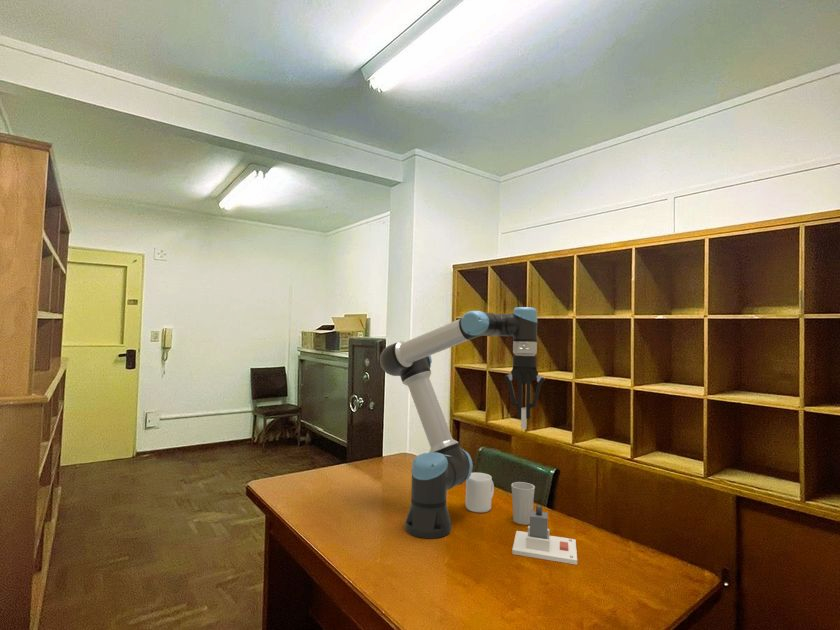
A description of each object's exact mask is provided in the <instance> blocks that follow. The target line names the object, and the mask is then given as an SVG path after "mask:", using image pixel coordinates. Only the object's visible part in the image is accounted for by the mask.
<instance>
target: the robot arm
mask: <svg viewBox="0 0 840 630" xmlns="http://www.w3.org/2000/svg"><path fill="white" fill-rule="evenodd" d="M482 336H487V337H513V338H512V339H513V340H512V341H513V342H512V343H513V344H512V353H513V354H514V355H513V356H512V369H511V370H510V373H509V374H506V375H504V378H503V379H504V380H505V382H506V383H507V388H508V392H509V396H510V400H511V404H512V406H514V407H516V408H517V418H518V419H520V420H521V421H520V430H527V426H528V425H527V419H530V418H531V409H532V408H536V407H537V403H538V398H539V397H540V396H539V395H540V391H541V387H542V385H543V383H544V382H545V380H546V379H545V377H543V376H542V375H540V374H539V371H538V368H537V367H538V364H537V363H538V362H537V360H538V357H537V356H536V355H537V353H538V311H537V309H536V308H535V307H528V306H520V307H517V306H515V308H514V309H513V313H492V312H485V311H481V310H471V311H468V312H465V313H464V315H463V316H462V317H461V318H459V319H457V320H454V321H451V322H450V323H447V324H445V325H443V326H440V327H437V328H434V329H433V330H430V331H428V332H425V333H423V334H421V335H418V336H416V337H413V338H411V339H409V340H407V341H404V340H399V341H398V342H394V343H392V344H390V345H387V346H386V347H385V348H384V349H382V351H381V353H380V355H379V363H380V367H381V369H382V370H383V371H384V372H385V373H386V374H387V375H390V376H393V377H400V380H401V382H402V384H403V385H404V386H406V387H408V389H409V393H410V395H411V397H412V400H413V403H414V406H415V409H416V411H417V412H416V413H417V414H418V416H419V419H420V420H419V421H420V422H421V425H422V428H423V430H424V433H425V435H426V439H427V441H428V444H429V446H430V449H429V451H428V452H427V453H426V452H424V453H421V454H418V455H416V456H415V457H414V458H413V460H412V467H411V498H410V500H411V501H410V506H409V510H408V513H407V516H406V518H405V524H404V525H405V527H404V528H405V532H406V533H408V534H409V535H411V536H413V537H416V538H421V539H439V538H442V537H446V536H447V535H449V534H450V533H451V531H452V519H451V517H450V513H449V510H448V507H447V492H448V490H450V489H452V488H455V487H457V486H460V485H462V484H463V483H466V480H467V479H468V478H469V477H470V475H471V473H473V468H474V466H473V460H472V458H471V455H470V454H469V452H467V451H466V450H464V449H462V447H461V445H460V443H459V441H457V440H456V439H454V438H453V437H452V433H451V431H450V429H449V428H450V427H449V426H448V423H447V420H446V418H445V415H444V413H443V411H442V410H443V409H442V407H441V406H440V405H441V404H440V403H439V400H438V397H437V395H436V392H435V390H434V387H433V384H432V381H431V379H430V377H431V375H432V371H431V366H432V360H433V359H432V355H434V354H436V353H439V352H442V351H445V350H446V349H450V348H452V347H455V346H457V345H460V344H462V343H465V342H468V341H470V340H473V339H475V338H478V337H482ZM513 379H514V380H515V381H516V383H517V398H516V395H515V394H516V393H515V390H514V385H513V382H512V381H513ZM534 380H536V382H537V384H536V389H535V391H534V394H533V399H532V402H531V398H532V397H531V384H532V383H533V382H534ZM524 384H525V385H526V387H525V390H526V391H525V395H526V396H525V407H523V388H524V387H523V385H524Z"/></svg>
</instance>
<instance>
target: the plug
mask: <svg viewBox="0 0 840 630" xmlns="http://www.w3.org/2000/svg"><path fill="white" fill-rule="evenodd" d="M548 517H549V515H548V512H546V511H543V506H542V505H539V504H537V505H535V510H533V511H532V510H531V513H530V524H529V526H530V537H536V538H542V539H547V531H548V529H549V528H548V527H549V526H548V523H549V522H548V521H549V520H548V519H549V518H548Z"/></svg>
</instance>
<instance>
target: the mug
mask: <svg viewBox="0 0 840 630" xmlns="http://www.w3.org/2000/svg"><path fill="white" fill-rule="evenodd" d="M492 479H493V478H492V476H491V475H490V474H488V473H484V472H472V473H471V475H470V477H469V478H468V479H467V480H466V481H465V508H466V509H467V510H468V511H470V512H473V513H480V514H481V513H487V512H489V511H491V509H492V498H493V497H494V494H495V484H494V481H493V480H492Z"/></svg>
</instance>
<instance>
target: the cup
mask: <svg viewBox="0 0 840 630" xmlns="http://www.w3.org/2000/svg"><path fill="white" fill-rule="evenodd" d="M510 487H511V495H512V496H511V497H512V498H511V499H512V515H513V516H512V519H513V520H512V521H513V522H514V523H516V524H519V525H530V513H531V510H532V511H534V499H535V489H536V486H535V485H534V484H532V483H528V482H524V481H515V482H512V483H511V486H510Z"/></svg>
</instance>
